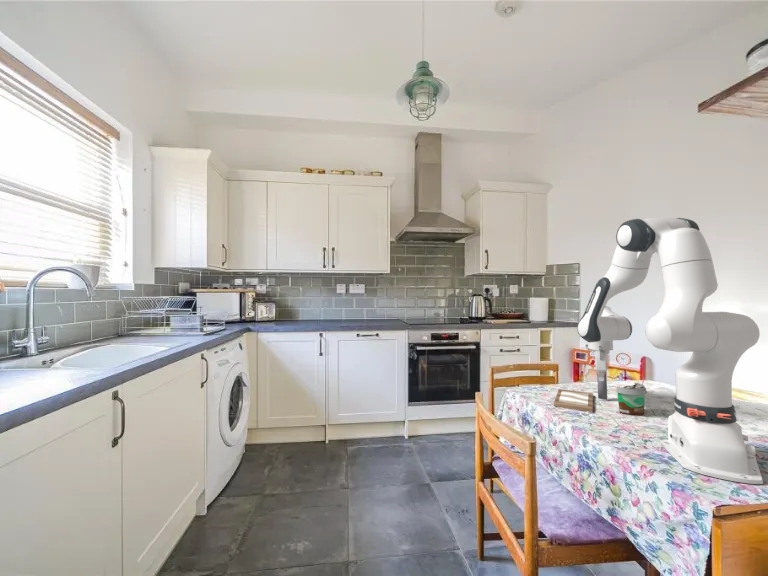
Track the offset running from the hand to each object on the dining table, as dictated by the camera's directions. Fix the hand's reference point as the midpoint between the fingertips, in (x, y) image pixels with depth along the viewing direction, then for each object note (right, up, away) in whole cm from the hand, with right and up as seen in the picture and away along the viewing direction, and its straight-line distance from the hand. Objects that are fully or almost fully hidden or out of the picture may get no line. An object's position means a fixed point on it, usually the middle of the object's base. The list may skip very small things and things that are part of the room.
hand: (601, 377), depth 134 cm
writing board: (-12, -9, -1) cm, 15 cm away
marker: (0, -9, -1) cm, 9 cm away
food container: (+2, -9, -16) cm, 19 cm away
